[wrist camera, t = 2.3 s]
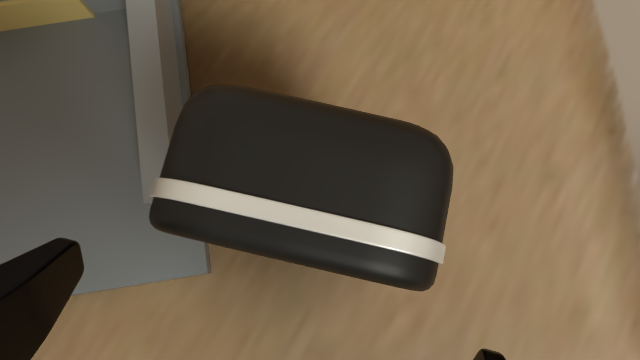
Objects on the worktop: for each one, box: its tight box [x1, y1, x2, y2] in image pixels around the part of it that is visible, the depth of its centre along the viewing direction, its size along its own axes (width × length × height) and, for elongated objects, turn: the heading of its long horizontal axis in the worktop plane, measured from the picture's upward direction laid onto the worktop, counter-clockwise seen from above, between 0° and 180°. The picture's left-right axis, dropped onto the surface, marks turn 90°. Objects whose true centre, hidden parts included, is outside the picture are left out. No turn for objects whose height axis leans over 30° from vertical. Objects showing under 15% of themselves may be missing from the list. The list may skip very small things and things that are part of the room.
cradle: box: [0, 0, 211, 296], centre depth 19 cm, size 16×14×3 cm
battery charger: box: [149, 85, 453, 291], centre depth 14 cm, size 7×4×11 cm, turn 77°
